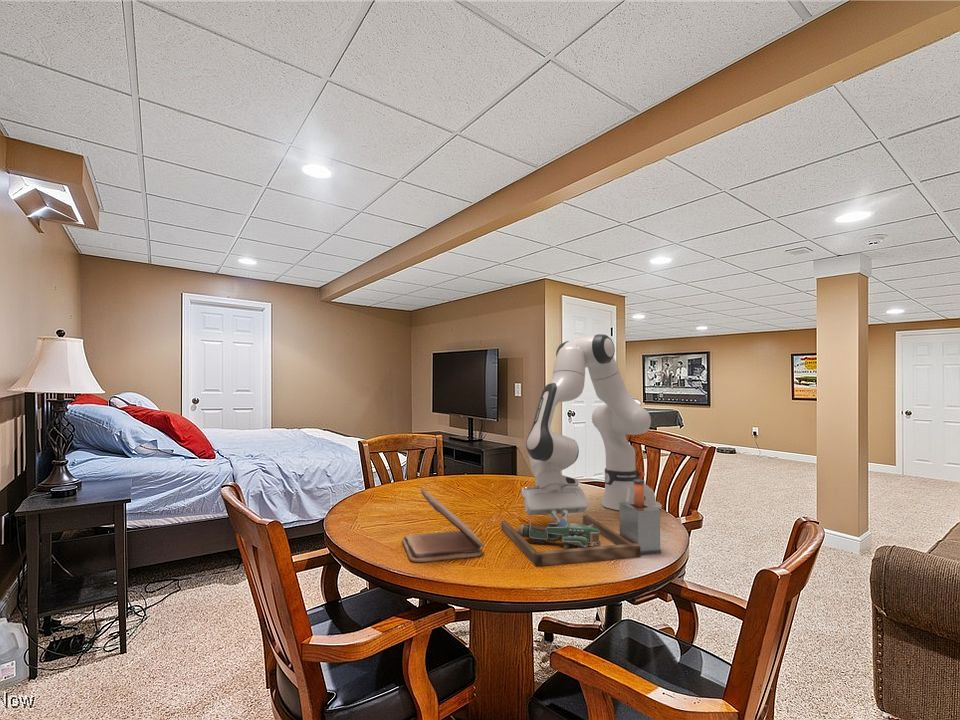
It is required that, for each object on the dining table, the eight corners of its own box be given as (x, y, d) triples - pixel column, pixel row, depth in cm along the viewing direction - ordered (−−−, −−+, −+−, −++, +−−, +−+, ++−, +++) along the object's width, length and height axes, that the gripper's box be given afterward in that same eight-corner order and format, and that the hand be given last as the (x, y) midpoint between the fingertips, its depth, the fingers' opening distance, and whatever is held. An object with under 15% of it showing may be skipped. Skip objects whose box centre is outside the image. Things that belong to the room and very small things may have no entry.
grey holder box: (640, 541, 146) (640, 500, 146) (660, 552, 136) (660, 509, 137) (619, 542, 144) (618, 502, 145) (638, 554, 134) (637, 511, 135)
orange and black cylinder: (640, 504, 143) (640, 479, 143) (647, 507, 139) (646, 481, 140) (631, 505, 142) (630, 479, 142) (637, 508, 139) (637, 481, 139)
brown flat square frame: (586, 522, 164) (586, 513, 165) (640, 556, 133) (640, 545, 133) (501, 528, 157) (501, 519, 157) (536, 566, 126) (536, 554, 126)
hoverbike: (600, 555, 134) (599, 525, 135) (512, 546, 142) (512, 517, 142) (601, 544, 144) (601, 515, 144) (519, 535, 151) (519, 509, 151)
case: (486, 557, 132) (487, 498, 133) (410, 565, 126) (411, 503, 127) (467, 535, 152) (468, 483, 153) (400, 540, 146) (401, 487, 147)
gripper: (522, 481, 152) (532, 521, 142) (582, 479, 157) (596, 517, 147) (517, 492, 156) (527, 532, 146) (576, 489, 161) (589, 528, 151)
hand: (562, 525), depth 146 cm, fingers closed
